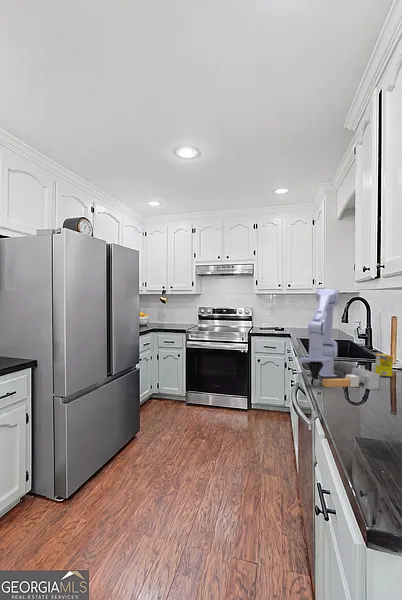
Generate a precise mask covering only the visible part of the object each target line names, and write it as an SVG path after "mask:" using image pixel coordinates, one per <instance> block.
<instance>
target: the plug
mask: <svg viewBox="0 0 402 600" xmlns="http://www.w3.org/2000/svg"><path fill="white" fill-rule="evenodd" d="M344 377H345V378H322V381H321V386H323V388H337V387H338V388H343V387H345V388H346V387H348V388H349V387H350V388H359V387H360V383H359V382H360V380H359V377H358V376H356V375H352V374H345V376H344Z"/></svg>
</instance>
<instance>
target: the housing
mask: <svg viewBox="0 0 402 600" xmlns="http://www.w3.org/2000/svg"><path fill="white" fill-rule="evenodd" d="M351 375H356V376H358V377H359V380H360V382H359V384H363V388H365V389H368V390H380V378H381V377H380V375H379V374H376V373H375V372H373V371H370V370H368V369H365V368H363V367H354V368H353V367H352V368H351Z"/></svg>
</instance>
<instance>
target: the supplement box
mask: <svg viewBox="0 0 402 600" xmlns="http://www.w3.org/2000/svg"><path fill="white" fill-rule="evenodd" d="M393 360H394V357H393V355H390V354H386V353H385V354H384V353H375V370H374V371H375V372H374V373H376V374H379V375H380V377H379V378H390V379H391V378H393Z"/></svg>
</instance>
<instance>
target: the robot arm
mask: <svg viewBox="0 0 402 600" xmlns="http://www.w3.org/2000/svg"><path fill="white" fill-rule="evenodd" d="M339 295H340V291H339V289H338V288H317V289H316V292H315V299H316V301H317V303H318V304H317V309H315V310H314V312H313V316H312V318H311V321H309V322H308V324H307V325H308V326H307V331H308V338H309V340H308V341H309V342H308V343H309V344H308V356H306V357H299V358H298V362H299V363H301V364H303V363H304V364H305V363H307V366H308V367H309V370H310V374H311V378H312V379H313V380H318V378H319V376H320V377H324V378H325V377H327V378H328V377H337V376H338V375H337V374H335V373H334V369H335V368H334V366H335V365H334V364H335V363H334V362H335V359H336V358H337V357H338V351H339V350H338V342H337V341H336V340H335V339H333V319H334V308H335V307H336V306H338V304H339V297H340V296H339Z"/></svg>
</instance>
